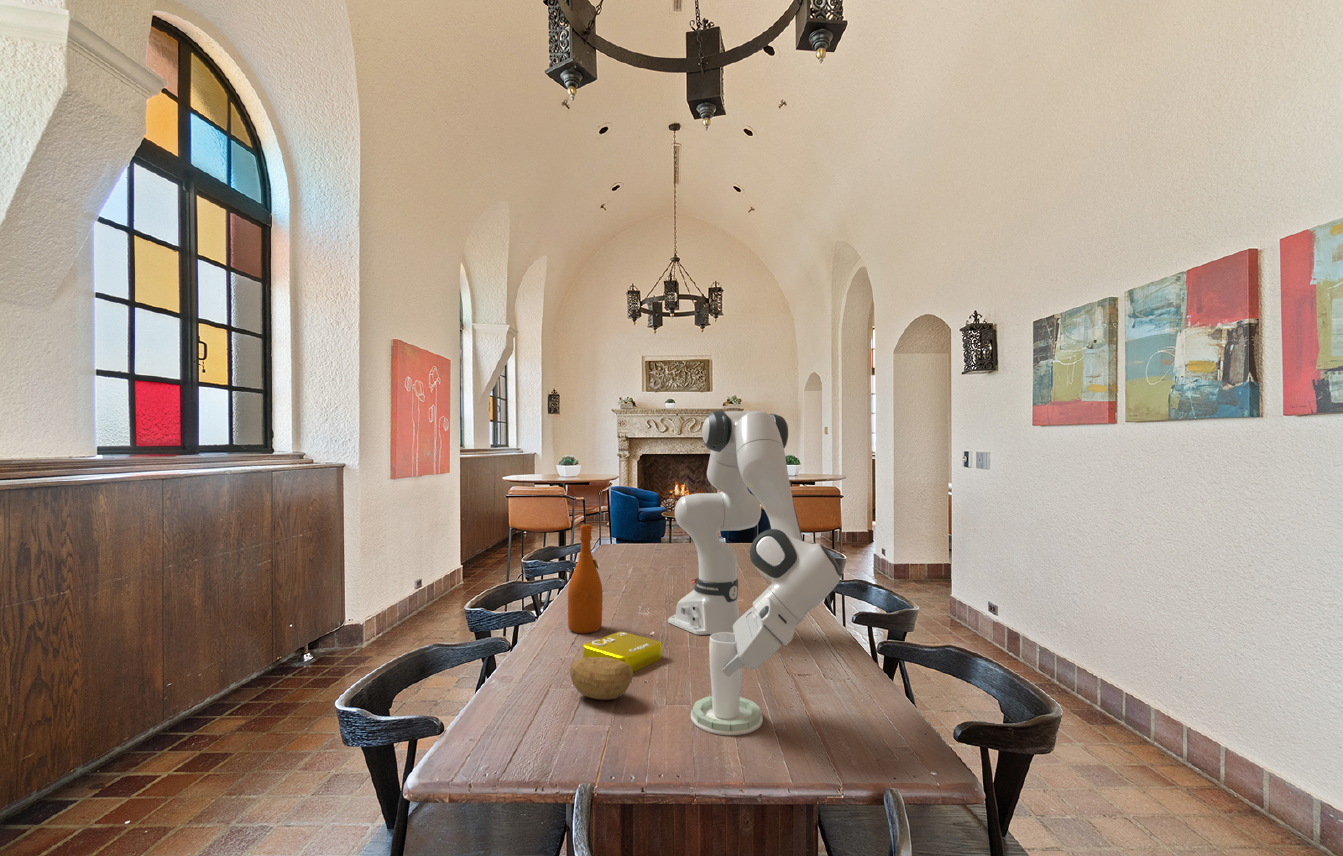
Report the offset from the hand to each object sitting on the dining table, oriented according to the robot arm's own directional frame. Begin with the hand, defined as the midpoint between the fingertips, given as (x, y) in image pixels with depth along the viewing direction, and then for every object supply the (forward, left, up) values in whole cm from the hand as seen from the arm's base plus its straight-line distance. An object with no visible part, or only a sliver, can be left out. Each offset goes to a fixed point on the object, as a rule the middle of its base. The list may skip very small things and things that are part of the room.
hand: (723, 663), depth 119 cm
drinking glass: (0, +1, -10) cm, 10 cm away
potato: (-25, -11, -11) cm, 29 cm away
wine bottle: (-64, +16, -11) cm, 66 cm away
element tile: (-38, +8, -11) cm, 40 cm away
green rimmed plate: (0, 0, -11) cm, 11 cm away
